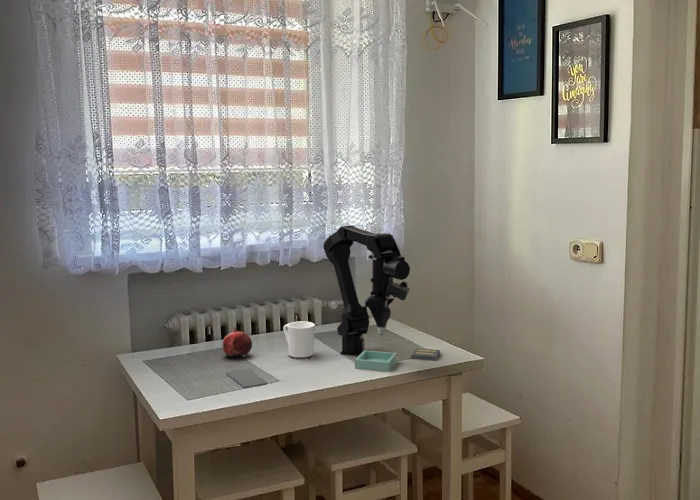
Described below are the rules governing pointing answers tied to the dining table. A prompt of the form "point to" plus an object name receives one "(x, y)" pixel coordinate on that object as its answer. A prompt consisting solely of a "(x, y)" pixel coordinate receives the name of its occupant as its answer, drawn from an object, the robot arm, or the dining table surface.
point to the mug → (300, 339)
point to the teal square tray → (375, 360)
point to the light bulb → (384, 321)
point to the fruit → (237, 343)
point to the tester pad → (425, 354)
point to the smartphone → (246, 378)
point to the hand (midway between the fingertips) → (381, 324)
